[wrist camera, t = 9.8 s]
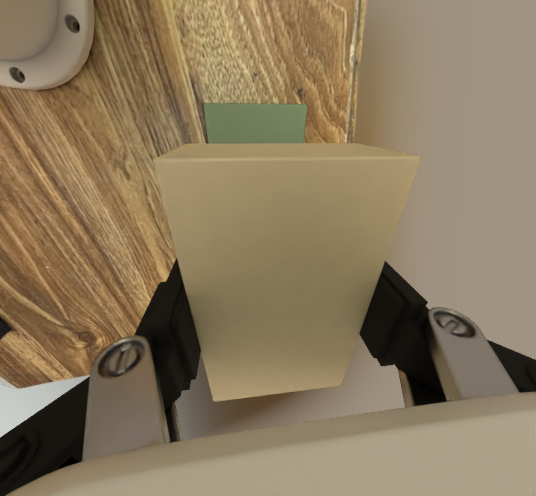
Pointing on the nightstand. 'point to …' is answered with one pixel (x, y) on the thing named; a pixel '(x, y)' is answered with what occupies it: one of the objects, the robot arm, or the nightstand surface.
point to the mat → (255, 123)
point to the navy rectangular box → (3, 329)
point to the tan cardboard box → (281, 254)
